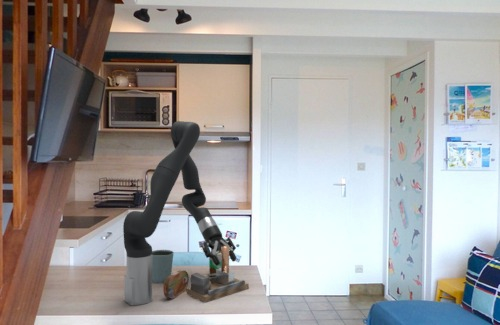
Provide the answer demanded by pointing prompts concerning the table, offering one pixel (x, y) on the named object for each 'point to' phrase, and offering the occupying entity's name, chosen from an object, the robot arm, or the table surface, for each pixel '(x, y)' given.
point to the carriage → (224, 268)
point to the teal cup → (161, 265)
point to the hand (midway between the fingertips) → (226, 262)
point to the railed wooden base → (213, 287)
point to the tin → (175, 284)
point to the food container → (212, 266)
